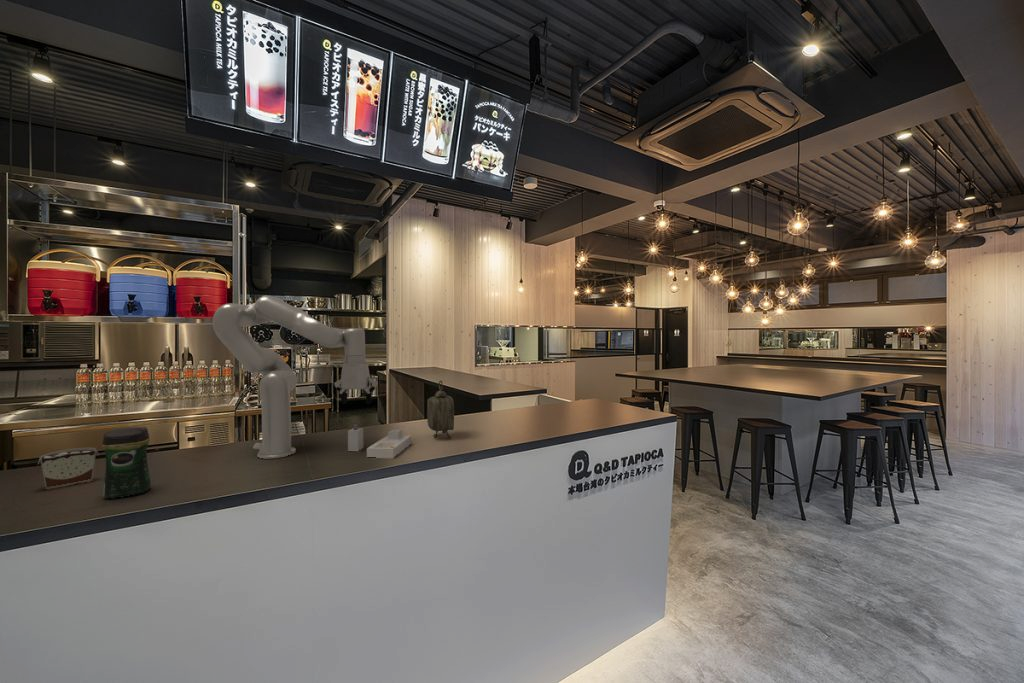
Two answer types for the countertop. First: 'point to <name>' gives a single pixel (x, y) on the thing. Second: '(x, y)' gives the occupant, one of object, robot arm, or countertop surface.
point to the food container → (68, 466)
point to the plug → (355, 439)
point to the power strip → (389, 445)
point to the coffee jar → (126, 462)
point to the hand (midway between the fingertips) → (356, 403)
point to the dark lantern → (440, 412)
